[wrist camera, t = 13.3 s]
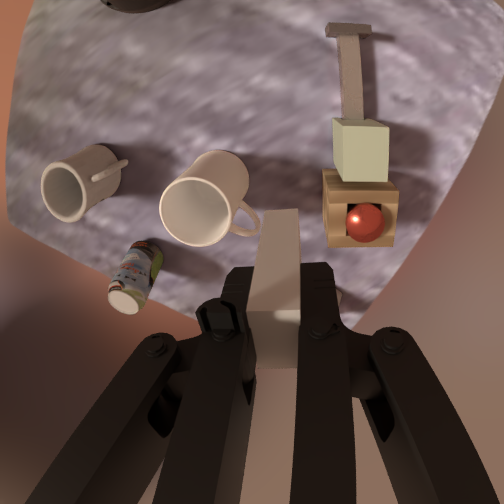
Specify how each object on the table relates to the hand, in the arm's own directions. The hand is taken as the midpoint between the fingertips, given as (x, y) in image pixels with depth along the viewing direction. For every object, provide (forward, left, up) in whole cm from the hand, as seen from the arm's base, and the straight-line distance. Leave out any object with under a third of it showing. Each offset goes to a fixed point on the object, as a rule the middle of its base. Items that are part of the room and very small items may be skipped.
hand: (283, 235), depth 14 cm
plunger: (+8, +8, -24) cm, 27 cm away
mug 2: (+6, -9, -28) cm, 30 cm away
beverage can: (+17, -24, -28) cm, 41 cm away
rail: (-5, +8, -28) cm, 29 cm away
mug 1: (+1, -28, -28) cm, 39 cm away
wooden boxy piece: (+8, +8, -28) cm, 30 cm away
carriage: (0, +8, -28) cm, 29 cm away
